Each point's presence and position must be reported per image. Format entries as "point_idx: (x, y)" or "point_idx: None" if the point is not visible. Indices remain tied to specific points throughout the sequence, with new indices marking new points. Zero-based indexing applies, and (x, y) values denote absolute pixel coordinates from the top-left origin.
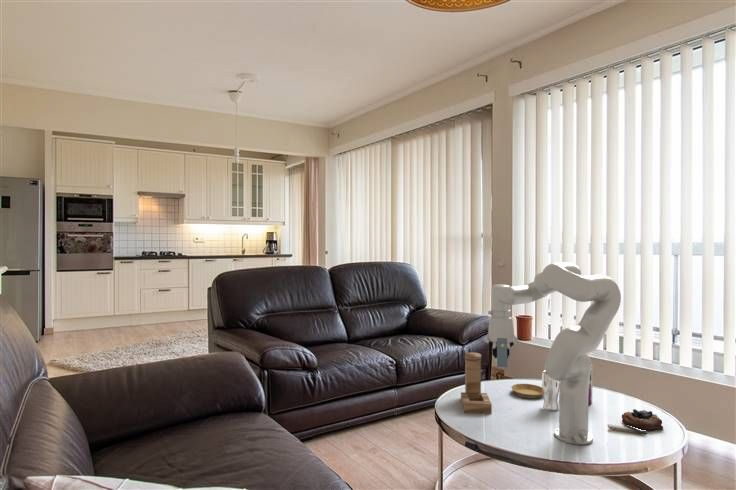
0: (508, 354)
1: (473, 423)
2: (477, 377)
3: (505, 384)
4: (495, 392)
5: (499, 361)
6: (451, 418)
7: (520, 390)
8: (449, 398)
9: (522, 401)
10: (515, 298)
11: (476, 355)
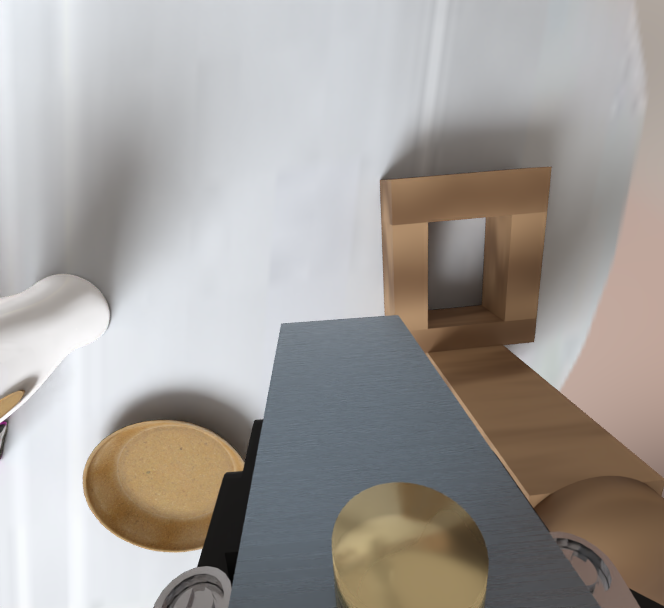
0: (236, 483)
1: (496, 13)
2: (484, 398)
3: None
4: None
5: (382, 344)
6: (600, 74)
7: (212, 502)
8: (554, 353)
9: (210, 376)
10: None
11: None
